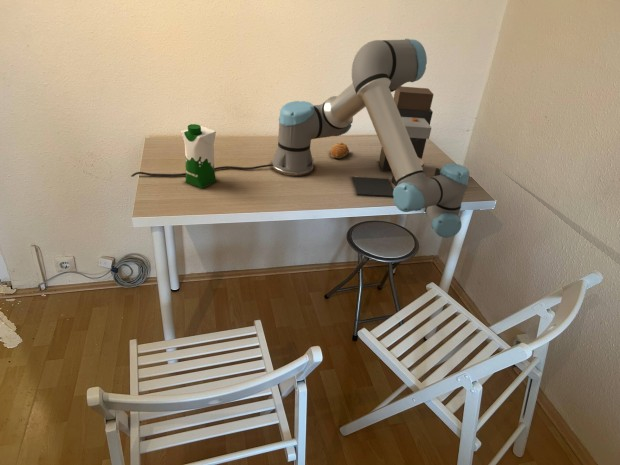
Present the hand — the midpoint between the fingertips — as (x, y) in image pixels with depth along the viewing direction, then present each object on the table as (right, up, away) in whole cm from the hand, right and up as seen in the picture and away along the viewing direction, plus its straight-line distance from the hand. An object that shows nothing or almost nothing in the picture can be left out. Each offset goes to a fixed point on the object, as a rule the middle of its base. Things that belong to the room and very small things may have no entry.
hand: (416, 170), depth 160 cm
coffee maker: (-2, +2, +19) cm, 19 cm away
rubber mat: (-14, -5, +7) cm, 16 cm away
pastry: (-25, +10, +29) cm, 39 cm away
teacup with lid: (-1, -2, +13) cm, 13 cm away
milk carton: (-73, -4, -1) cm, 73 cm away
